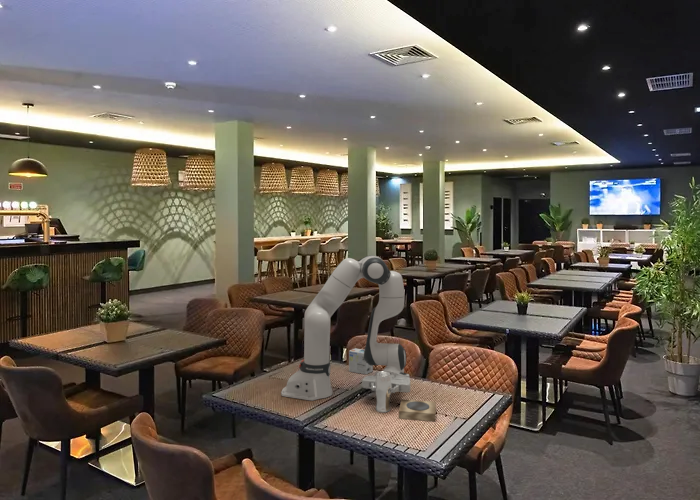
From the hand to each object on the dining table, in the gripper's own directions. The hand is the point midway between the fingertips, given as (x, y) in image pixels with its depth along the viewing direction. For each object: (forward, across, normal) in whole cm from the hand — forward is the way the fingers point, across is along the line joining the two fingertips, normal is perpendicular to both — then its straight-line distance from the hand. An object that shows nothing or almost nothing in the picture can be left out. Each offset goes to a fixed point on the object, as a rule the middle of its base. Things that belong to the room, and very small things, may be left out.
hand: (382, 390), depth 206 cm
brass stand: (-1, +14, +8) cm, 17 cm away
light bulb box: (-48, -21, +9) cm, 53 cm away
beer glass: (-1, 0, +9) cm, 9 cm away
